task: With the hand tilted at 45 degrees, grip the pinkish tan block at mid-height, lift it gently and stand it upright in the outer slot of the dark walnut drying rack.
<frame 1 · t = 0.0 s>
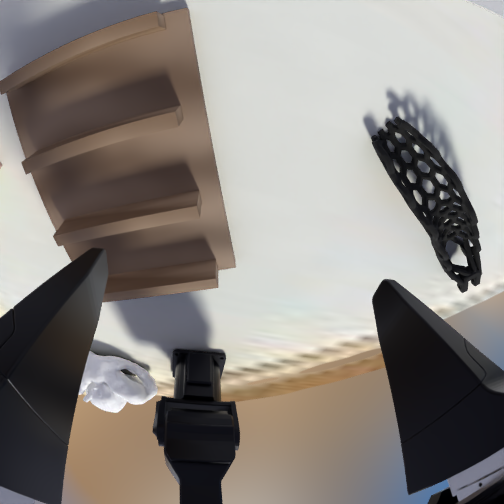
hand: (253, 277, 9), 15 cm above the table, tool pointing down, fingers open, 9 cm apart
drying rack: (96, 89, 17), on the table
decorative element: (431, 209, 26), on the table
baby figurine: (111, 362, 37), on the table
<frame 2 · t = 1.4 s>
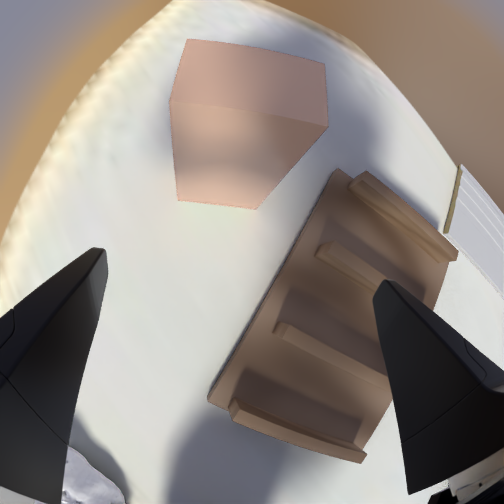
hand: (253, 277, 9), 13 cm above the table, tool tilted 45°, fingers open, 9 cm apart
drying rack: (381, 256, 25), on the table
baby figurine: (85, 484, 18), on the table
pinkish tan block: (219, 183, 23), on the table
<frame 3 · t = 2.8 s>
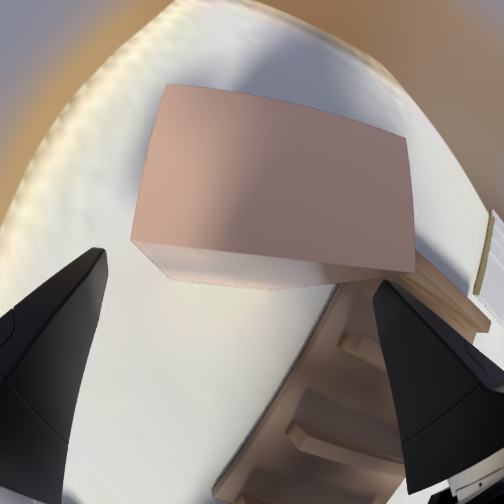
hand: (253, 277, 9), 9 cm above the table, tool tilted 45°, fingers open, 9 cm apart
drying rack: (409, 332, 21), on the table
pinkish tan block: (223, 256, 19), on the table
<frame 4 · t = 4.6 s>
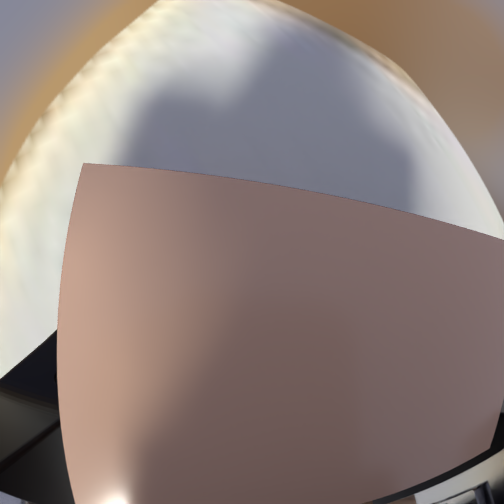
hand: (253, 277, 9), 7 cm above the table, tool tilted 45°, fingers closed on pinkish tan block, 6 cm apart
pinkish tan block: (224, 311, 15), on the table, touching gripper
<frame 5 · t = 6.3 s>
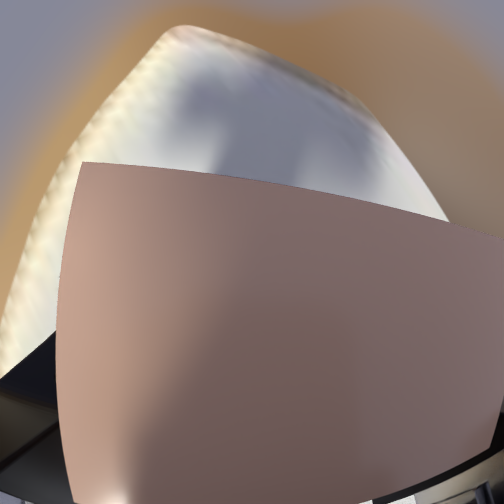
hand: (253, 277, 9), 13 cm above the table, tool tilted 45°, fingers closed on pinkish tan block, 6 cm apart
pinkish tan block: (223, 311, 15), point 7 cm above the table, touching gripper
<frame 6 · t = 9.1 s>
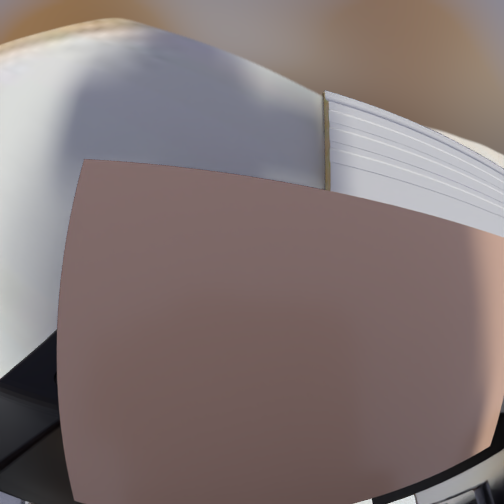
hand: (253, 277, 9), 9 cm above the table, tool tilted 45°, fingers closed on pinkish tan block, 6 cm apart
baseboard molding: (459, 188, 24), on the table
pinkish tan block: (224, 310, 15), point 2 cm above the table, touching gripper
when the fingers open (9 cm above the table, at t = 9.6 s): pinkish tan block drops 1 cm, resting on drying rack.
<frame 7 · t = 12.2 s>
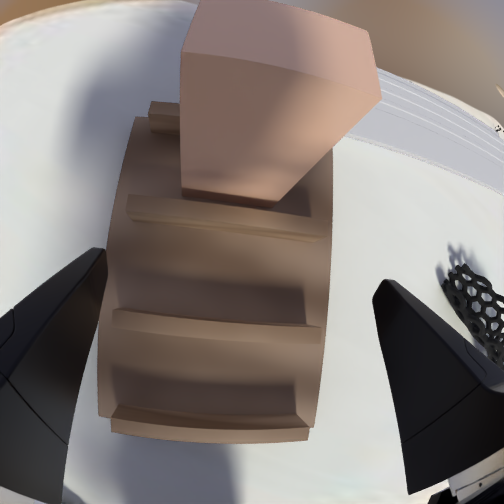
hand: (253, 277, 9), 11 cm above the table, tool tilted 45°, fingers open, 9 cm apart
baseboard molding: (431, 126, 28), on the table
drying rack: (228, 182, 21), on the table
decorative element: (477, 353, 25), on the table
pinkish tan block: (230, 177, 20), point 1 cm above the table, touching drying rack
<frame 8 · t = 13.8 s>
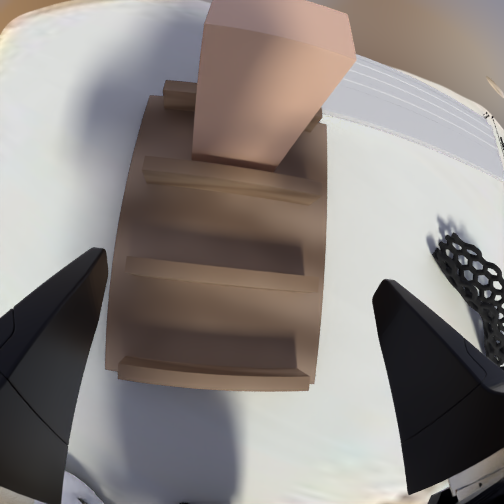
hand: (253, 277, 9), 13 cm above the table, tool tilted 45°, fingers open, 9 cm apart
baseboard molding: (420, 111, 30), on the table
drying rack: (233, 153, 23), on the table
decorative element: (473, 322, 27), on the table
baby figurine: (61, 487, 16), on the table
pinkish tan block: (234, 147, 22), point 1 cm above the table, touching drying rack
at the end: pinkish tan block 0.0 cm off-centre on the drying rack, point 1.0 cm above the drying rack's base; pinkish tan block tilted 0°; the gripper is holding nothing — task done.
